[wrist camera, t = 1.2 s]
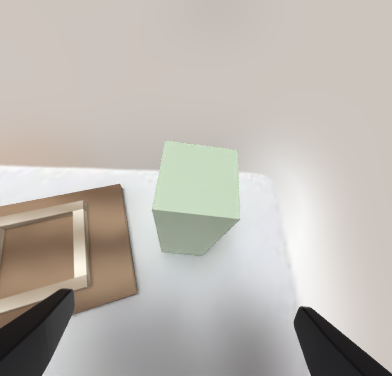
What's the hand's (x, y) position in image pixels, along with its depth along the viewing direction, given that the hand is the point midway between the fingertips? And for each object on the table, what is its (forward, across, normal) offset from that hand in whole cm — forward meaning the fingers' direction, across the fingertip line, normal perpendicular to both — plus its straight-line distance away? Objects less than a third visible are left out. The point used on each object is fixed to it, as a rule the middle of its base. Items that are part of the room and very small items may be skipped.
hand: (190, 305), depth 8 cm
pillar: (+14, 0, +5) cm, 15 cm away
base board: (+11, +14, +8) cm, 19 cm away
